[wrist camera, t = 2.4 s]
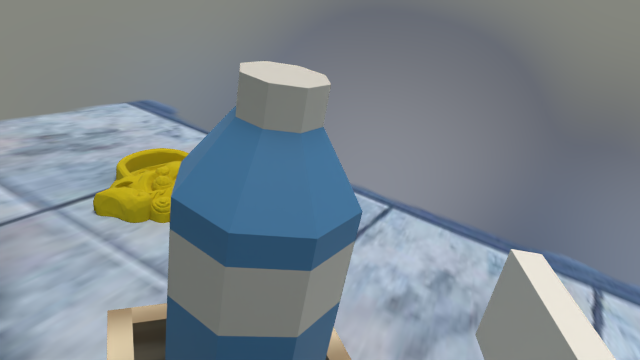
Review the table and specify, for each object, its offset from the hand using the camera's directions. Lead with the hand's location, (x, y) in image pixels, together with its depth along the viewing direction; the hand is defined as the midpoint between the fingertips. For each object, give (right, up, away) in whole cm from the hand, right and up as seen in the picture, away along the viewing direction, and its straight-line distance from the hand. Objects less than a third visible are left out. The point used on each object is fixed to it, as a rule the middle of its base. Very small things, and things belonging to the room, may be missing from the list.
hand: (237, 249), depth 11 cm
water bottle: (-4, -16, +19) cm, 25 cm away
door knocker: (-17, 0, +48) cm, 50 cm away
